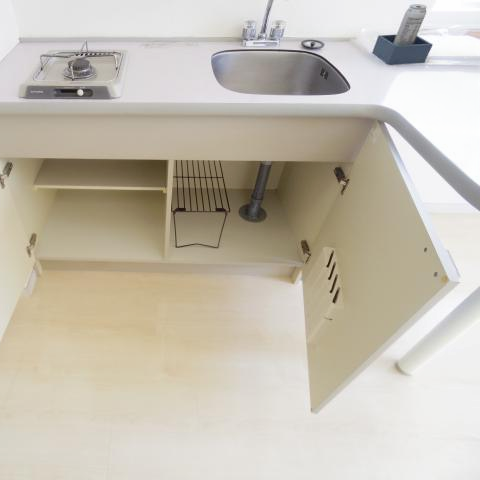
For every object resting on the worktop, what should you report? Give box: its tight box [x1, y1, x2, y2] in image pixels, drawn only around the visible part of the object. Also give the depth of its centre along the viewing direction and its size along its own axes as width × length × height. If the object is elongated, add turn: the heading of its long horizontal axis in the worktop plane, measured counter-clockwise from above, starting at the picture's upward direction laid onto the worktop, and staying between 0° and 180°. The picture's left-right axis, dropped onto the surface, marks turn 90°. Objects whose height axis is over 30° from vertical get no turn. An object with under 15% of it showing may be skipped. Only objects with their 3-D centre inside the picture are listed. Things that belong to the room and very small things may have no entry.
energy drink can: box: [393, 3, 427, 46], centre depth 119 cm, size 6×6×15 cm
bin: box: [372, 33, 434, 65], centre depth 123 cm, size 13×13×6 cm
